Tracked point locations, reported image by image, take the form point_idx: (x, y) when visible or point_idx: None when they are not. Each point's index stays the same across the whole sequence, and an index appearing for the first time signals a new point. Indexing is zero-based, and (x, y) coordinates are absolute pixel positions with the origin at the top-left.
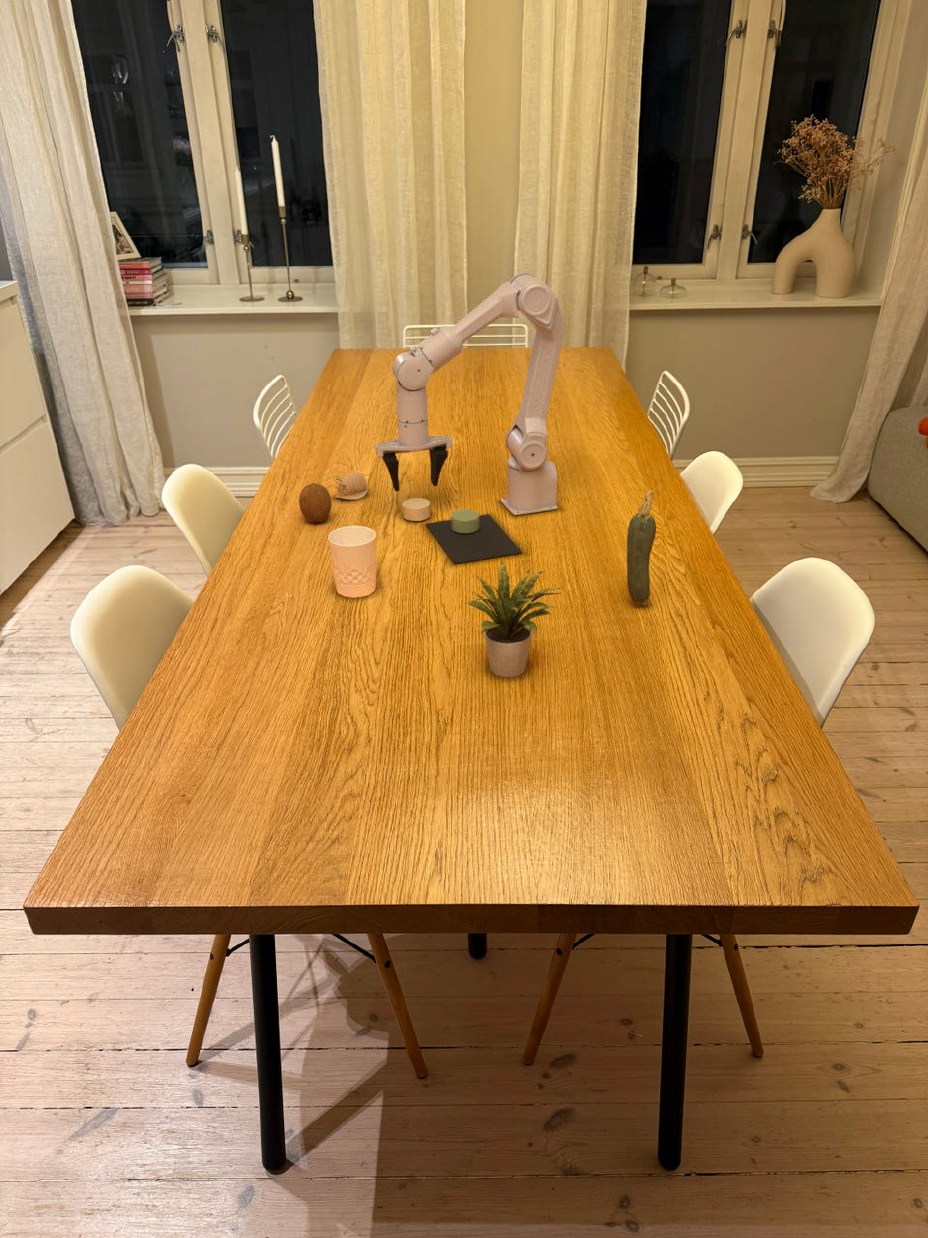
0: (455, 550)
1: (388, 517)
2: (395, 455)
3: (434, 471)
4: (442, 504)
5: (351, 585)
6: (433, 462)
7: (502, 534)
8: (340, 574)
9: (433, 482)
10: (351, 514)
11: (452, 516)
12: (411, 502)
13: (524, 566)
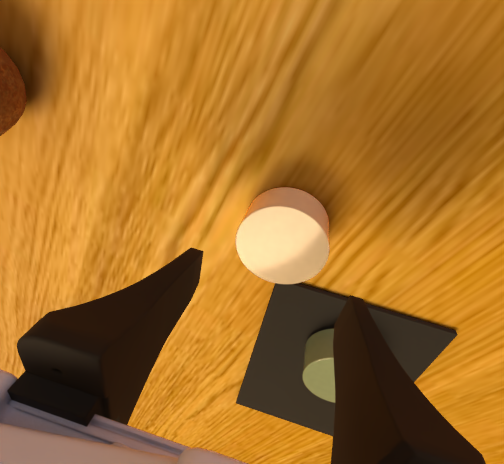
0: (261, 384)
1: (213, 177)
2: (109, 415)
3: (340, 381)
4: (420, 193)
5: None
6: (348, 415)
7: None
8: None
9: (337, 329)
10: (114, 85)
11: (307, 370)
12: (270, 234)
13: (327, 453)
